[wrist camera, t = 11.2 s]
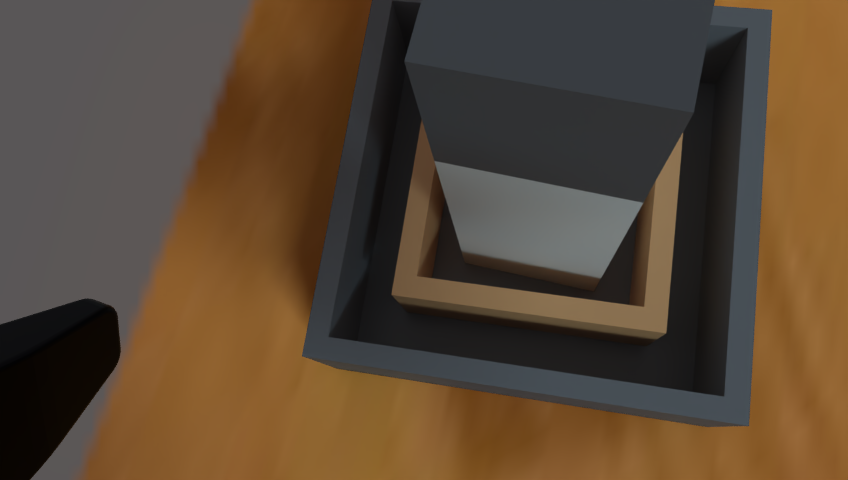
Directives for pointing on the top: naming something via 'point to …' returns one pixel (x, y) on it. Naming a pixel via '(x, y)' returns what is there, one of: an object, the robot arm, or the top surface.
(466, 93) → the plug
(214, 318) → the top surface
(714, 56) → the walled box
